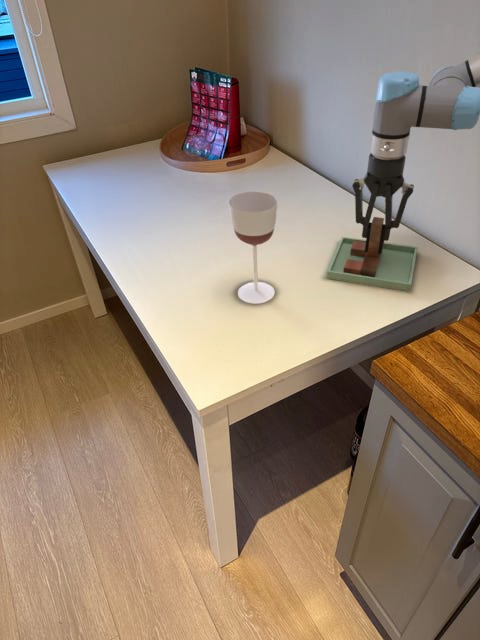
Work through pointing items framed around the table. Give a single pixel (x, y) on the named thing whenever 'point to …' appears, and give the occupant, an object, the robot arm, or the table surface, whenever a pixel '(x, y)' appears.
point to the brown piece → (373, 249)
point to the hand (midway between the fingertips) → (373, 250)
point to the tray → (391, 268)
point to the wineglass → (254, 235)
